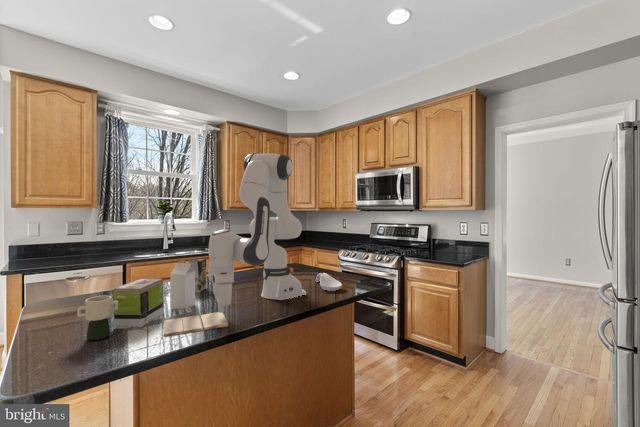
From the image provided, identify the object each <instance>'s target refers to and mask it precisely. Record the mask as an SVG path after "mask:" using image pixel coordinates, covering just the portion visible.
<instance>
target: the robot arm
mask: <svg viewBox="0 0 640 427" xmlns="http://www.w3.org/2000/svg"><path fill="white" fill-rule="evenodd" d="M242 164H243V165H242V167H243V170H244V172H243V175H242V178H241V182H240V186H239V191H238V195H239V200H240V202H241V203H242V204H243V206H245V207H246V208H248V209H250V211H252V213H253V219H252V220H251V221H250V224H249V226H248V229H249V233H250V235H251V237H244V236H240V235H238V234H236V233H234V231H232V229H230V228H229V229H228V228H227V229H226V228H225V229H217V230H214V231H213V232H212V233H211V234H210V237H209V241H208V257H209V263H208V272H207V273H208V274H207V275H208V276H207V277H208V278H207V280H209V281H211V283H212V293H213V295H214V297H215V299H216V301H217V302H216V303H217V312H219V313H222V312H223V313H224V312H225V307H227V306H230V305H231V302H232V294H233V292H232V291H233V283H234V282H235V276H234V274H235V272H234V271H235V268H234V267H235V266H234V265H235V264H234V263H235V262H237V263H241V264H246V265H247V264H248V265H251V266H253V267H259V266H262V264H264V265H263V266H264V267H263V273H262V276H263V285H262V291H261V294H260V296H261V298H263V299H267V300H268V299H269V300H277V301H284V300H290V299H294V297H295V298H299V297H298V296H300V297H303V296H302V295H305V296H307V292H306V290H304V288H302V283H301V281H300V280H299V279H297V277H295V276H293V275H292V274H291V273H293V272H294V271H295V270H294V268H293V267H289V266H288V264H287V263H288V257H287V256H288V254H287V253H288V252H287V250H286V249H285V248H284V247H282V246H280V245H277V244H276V243H275V240H292V239H296V238H298V237H300V235H301V233H302V230H303V225H302V223H301V221H300V219H298V218H297V217H296V216H295V215H294V214H293V213H292V211H291V210H290V207H289V204H288V181H287V179H288V178H290V177H291V175H292V173H293V168H294V167H293V160H292V159H291V158H290V156H288V155H286V154H279V153H269V152H268V153H249V154H247V155H246V156H245V158H244V160H243V162H242ZM271 212H273V213H275V215H276V216H272V217H271V216H270V215H271ZM289 298H290V299H289Z"/></svg>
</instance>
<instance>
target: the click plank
mask: <svg viewBox="0 0 640 427" xmlns="http://www.w3.org/2000/svg"><path fill="white" fill-rule="evenodd" d="M199 317H200V321H201V325H202V328H203V330H204V331H205V330H213V329H219V328H226V327H229V322H228V320H227V318H226V316H225V314H224V312H222V313H219V311H217V312H211V313H205V314H200V315H199Z"/></svg>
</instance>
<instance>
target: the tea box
mask: <svg viewBox="0 0 640 427" xmlns="http://www.w3.org/2000/svg"><path fill="white" fill-rule="evenodd" d="M164 297H165V296H164V279H163V278H138V279H136V280H132V281H131V282H128V283H125V284H122V285H120V286H117V287H114V288H113V301H118V310H115V311H113V315H114V318H113V320H114V323H113V324H114V329H117V330H118V329H119V330H130V329H131V328H142V327H143V326H144V327H145V325H147V324H149V323H150V322H153V321H154V320H155V319H157V318H159V317H160V316H162V315H164V313H165V306H164V300H165V299H164ZM113 308H115V304H113Z"/></svg>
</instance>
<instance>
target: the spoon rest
mask: <svg viewBox="0 0 640 427" xmlns="http://www.w3.org/2000/svg"><path fill="white" fill-rule="evenodd" d="M315 281H316V282H319V281H320V283H319V285H320V287H321V289H322V290H324V291H325V290H327V291H326V292H330V291H332V292H336V290H337V291H339V290H340V289H341V288H342V287H343V283H341V281H339V280H337V279H335V278H334V277H332V276H331V275H329V274H328V273H326V272H323V273H322V272H320V273H317V275H316V278H315ZM315 281H314V282H315Z"/></svg>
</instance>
